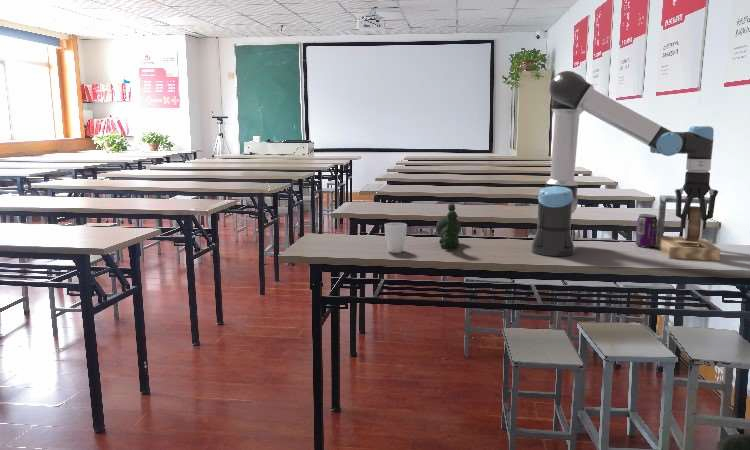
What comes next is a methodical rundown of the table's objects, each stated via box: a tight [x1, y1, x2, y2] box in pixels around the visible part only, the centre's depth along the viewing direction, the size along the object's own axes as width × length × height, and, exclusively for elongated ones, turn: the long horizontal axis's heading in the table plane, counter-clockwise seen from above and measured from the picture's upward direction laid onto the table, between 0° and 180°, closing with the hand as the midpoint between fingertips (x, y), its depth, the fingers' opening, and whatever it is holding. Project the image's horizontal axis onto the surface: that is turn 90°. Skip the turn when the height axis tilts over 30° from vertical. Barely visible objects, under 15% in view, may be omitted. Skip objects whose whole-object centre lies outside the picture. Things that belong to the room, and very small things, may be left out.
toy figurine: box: [435, 202, 462, 249], centre depth 225 cm, size 9×19×25 cm
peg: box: [686, 205, 701, 242], centre depth 208 cm, size 4×4×12 cm
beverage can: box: [635, 213, 658, 248], centre depth 226 cm, size 7×7×12 cm
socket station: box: [655, 194, 722, 261], centre depth 214 cm, size 16×22×20 cm
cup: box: [384, 222, 408, 254], centre depth 217 cm, size 8×8×10 cm
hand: (692, 237), depth 209 cm, fingers closed on peg, 4 cm apart
